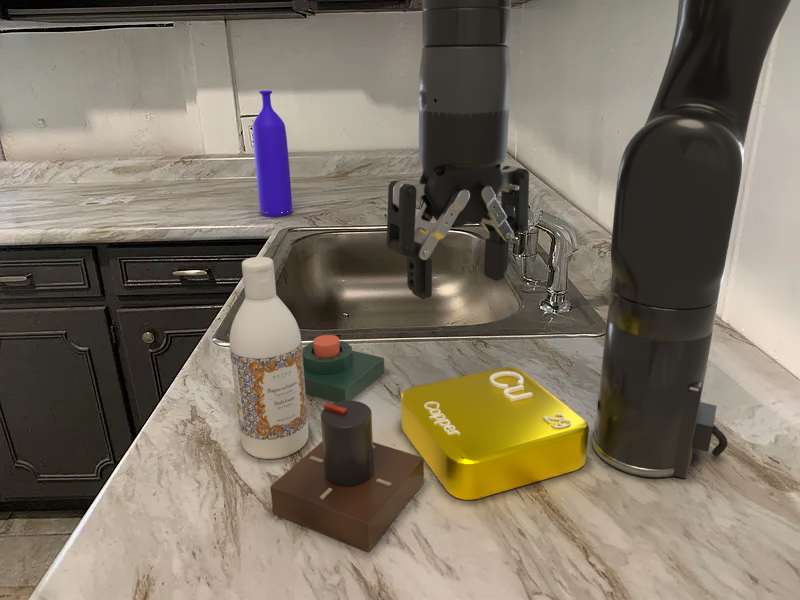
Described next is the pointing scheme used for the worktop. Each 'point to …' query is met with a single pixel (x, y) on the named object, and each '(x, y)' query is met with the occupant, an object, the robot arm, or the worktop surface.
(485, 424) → the element tile
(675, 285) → the robot arm
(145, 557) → the worktop surface
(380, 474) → the dial panel
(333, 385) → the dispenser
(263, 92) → the bottle
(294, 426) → the bath foam
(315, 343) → the red button cap
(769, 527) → the worktop surface
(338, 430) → the dial
